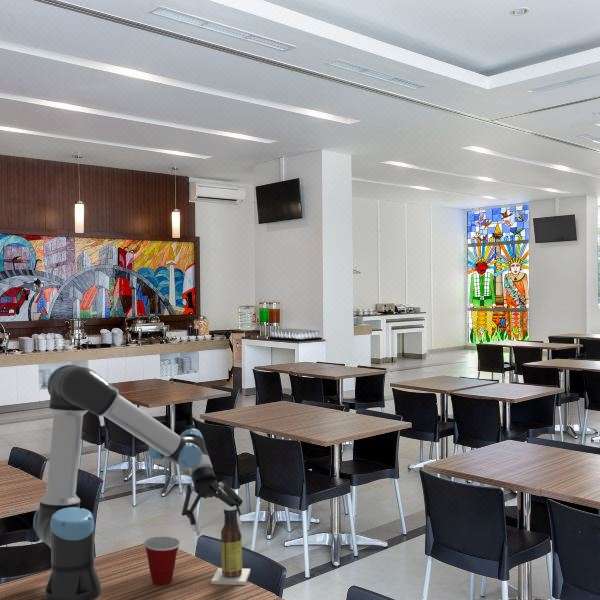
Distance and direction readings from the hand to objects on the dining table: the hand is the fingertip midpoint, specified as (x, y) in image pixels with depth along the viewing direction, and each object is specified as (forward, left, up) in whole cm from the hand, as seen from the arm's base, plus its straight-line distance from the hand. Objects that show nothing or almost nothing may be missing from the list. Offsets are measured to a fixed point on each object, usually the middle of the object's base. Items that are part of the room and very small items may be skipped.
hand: (219, 529), depth 217 cm
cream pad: (+5, -7, -12) cm, 15 cm away
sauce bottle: (+5, -7, -11) cm, 14 cm away
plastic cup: (-15, -11, -12) cm, 22 cm away
